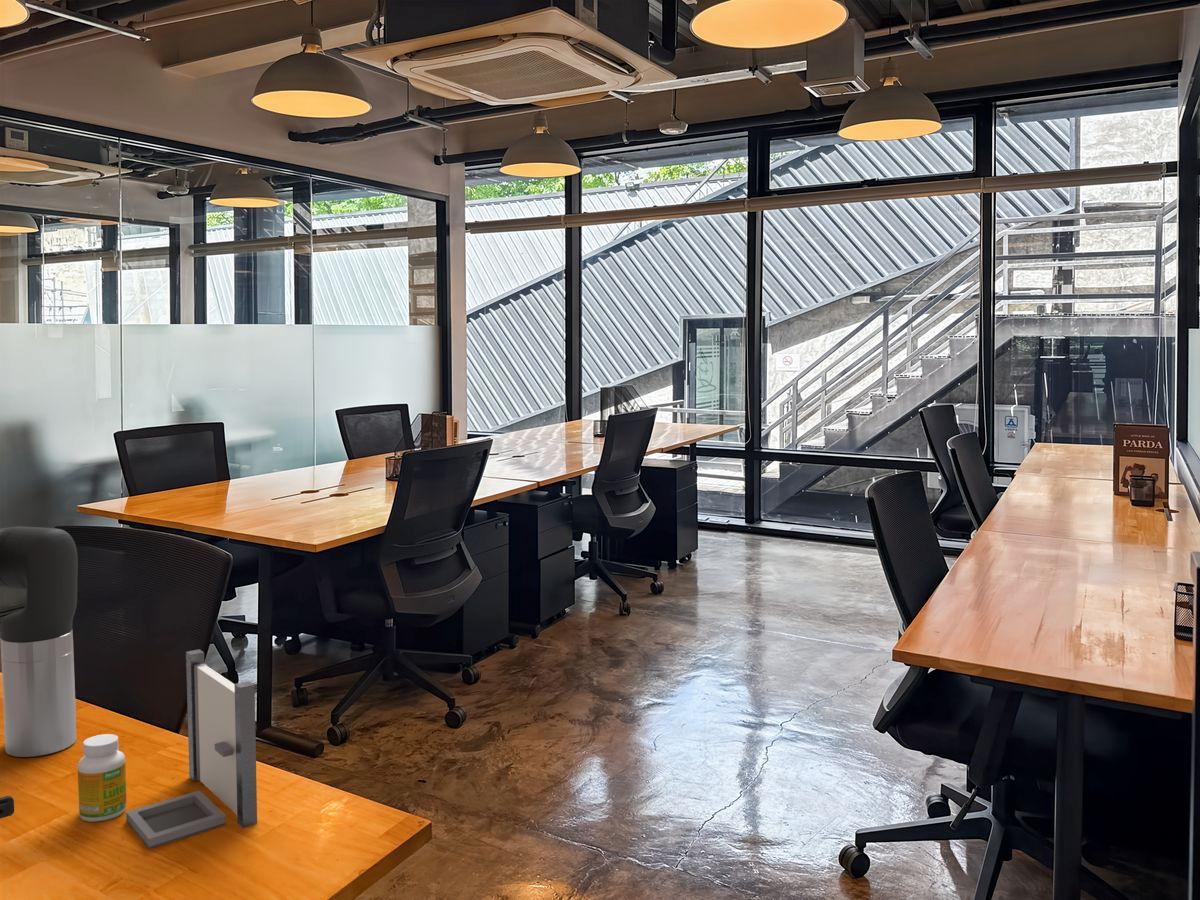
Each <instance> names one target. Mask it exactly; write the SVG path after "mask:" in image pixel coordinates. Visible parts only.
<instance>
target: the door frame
mask: <svg viewBox="0 0 1200 900" xmlns="http://www.w3.org/2000/svg"><path fill="white" fill-rule="evenodd" d="M185 660H186V661H185V662H186V663H185V667H186V700H187V701H186V702H187V705H186V706H187V734H188V735H187V736H188V737H187V739H188V740H187V742H188V743H187V744H188V771H189V772H188V773H189V774H188V777H189V779H191V781H192V782H197V781H199V780H197V759H196V719H195V680H194V665H197V664H205V652H204V651H203V650H201V649H195V650H189V651H185ZM233 684H234V687H235V733H236V779H237V814H236V817H237V818H236V819H237V824H238V825H239V826H240V827H241V828H242V829H245V828H248V827H250V826H254V825H258V798H257V797H258V796H257V791H258V790H257V748H256V746H257V745H256V743H257V742H256V741H257V740H256V739H257V738H256V737H257V736H256V695H255V692H256V691H255V689H256V688H255V684H254V683H253V682H251V681H249V680H247V681H246V680H245V681H242V682H237V683H233Z"/></svg>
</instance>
